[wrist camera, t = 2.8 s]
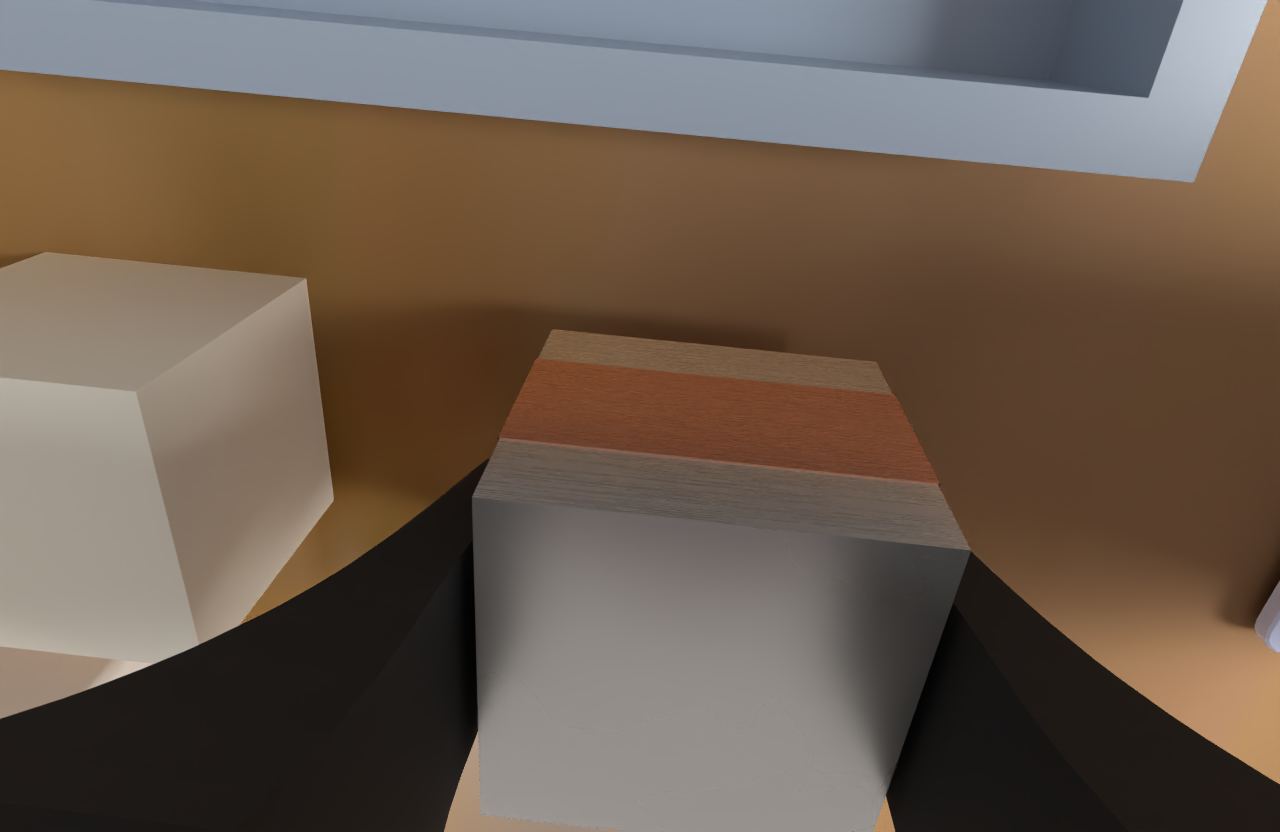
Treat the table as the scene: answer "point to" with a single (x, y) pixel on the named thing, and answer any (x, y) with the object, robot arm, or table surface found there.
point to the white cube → (151, 451)
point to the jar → (52, 676)
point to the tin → (704, 589)
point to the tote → (708, 66)
